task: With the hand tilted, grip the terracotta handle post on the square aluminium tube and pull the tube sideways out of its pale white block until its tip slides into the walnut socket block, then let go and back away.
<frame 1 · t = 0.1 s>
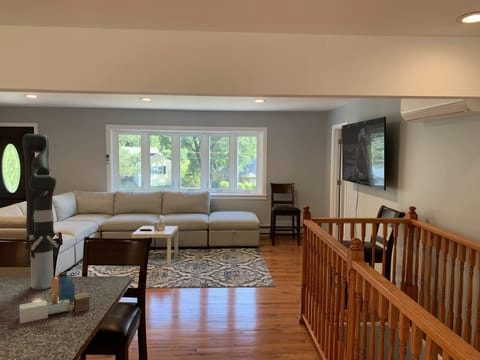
hand: (44, 257, 160), 17 cm above the table, tool pointing down, fingers open, 8 cm apart
socket block: (81, 308, 147), on the table
pale white block: (33, 318, 138), on the table
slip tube: (46, 296, 140), point 8 cm above the table, slide at 0.0 cm
perfume bottle: (63, 301, 156), on the table
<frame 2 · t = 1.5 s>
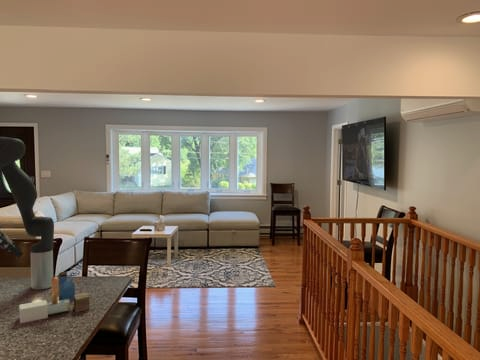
hand: (20, 253, 135), 25 cm above the table, tool tilted 45°, fingers open, 8 cm apart
nothing on the table moved.
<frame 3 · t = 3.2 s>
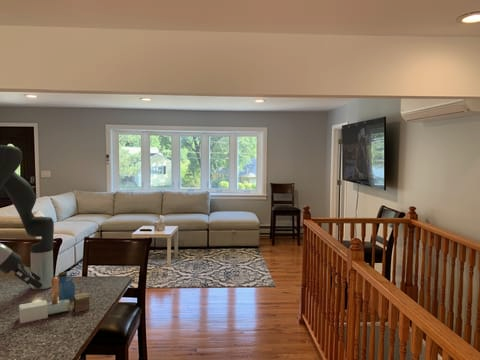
hand: (39, 283, 139), 13 cm above the table, tool tilted 45°, fingers open, 8 cm apart
nothing on the table moved.
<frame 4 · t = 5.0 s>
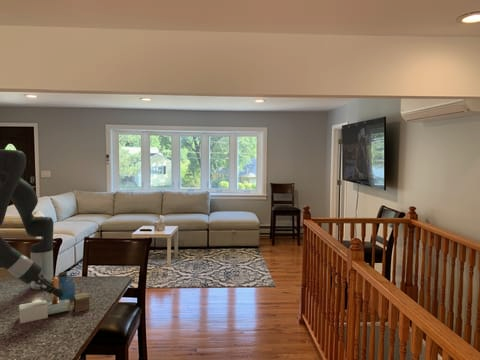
hand: (61, 294, 143), 7 cm above the table, tool tilted 45°, fingers closed on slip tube, 2 cm apart
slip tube: (46, 296, 140), point 8 cm above the table, slide at 0.0 cm, touching gripper
everything else where it was.
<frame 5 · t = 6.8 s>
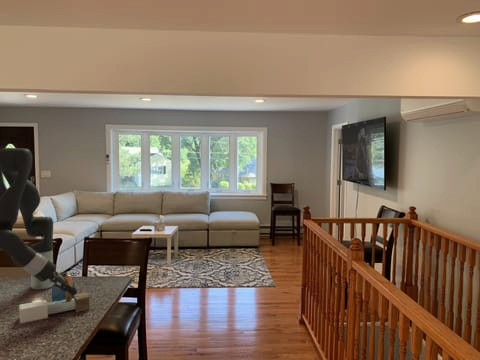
hand: (74, 291, 146), 7 cm above the table, tool tilted 45°, fingers open, 3 cm apart
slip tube: (60, 293, 143), point 8 cm above the table, slide at 5.0 cm
everything else where it was.
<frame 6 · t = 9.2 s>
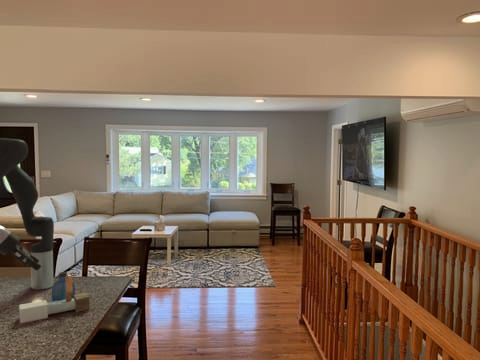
hand: (38, 265, 138), 20 cm above the table, tool tilted 45°, fingers open, 8 cm apart
nothing on the table moved.
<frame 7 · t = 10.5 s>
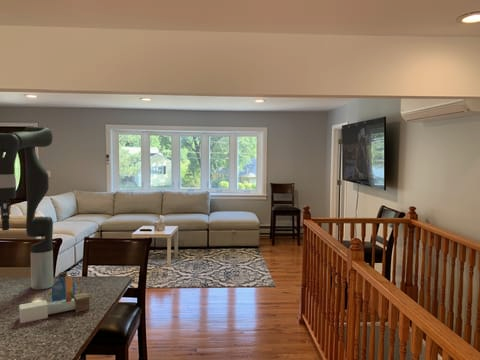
hand: (5, 228, 139), 34 cm above the table, tool pointing down, fingers open, 8 cm apart
nothing on the table moved.
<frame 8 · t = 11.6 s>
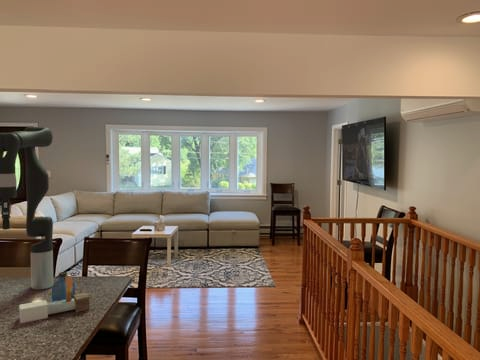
hand: (6, 227, 139), 34 cm above the table, tool pointing down, fingers open, 8 cm apart
nothing on the table moved.
at the end: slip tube slide at 5.0 cm; the gripper is holding nothing; perfume bottle moved 0.3 cm from its start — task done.
